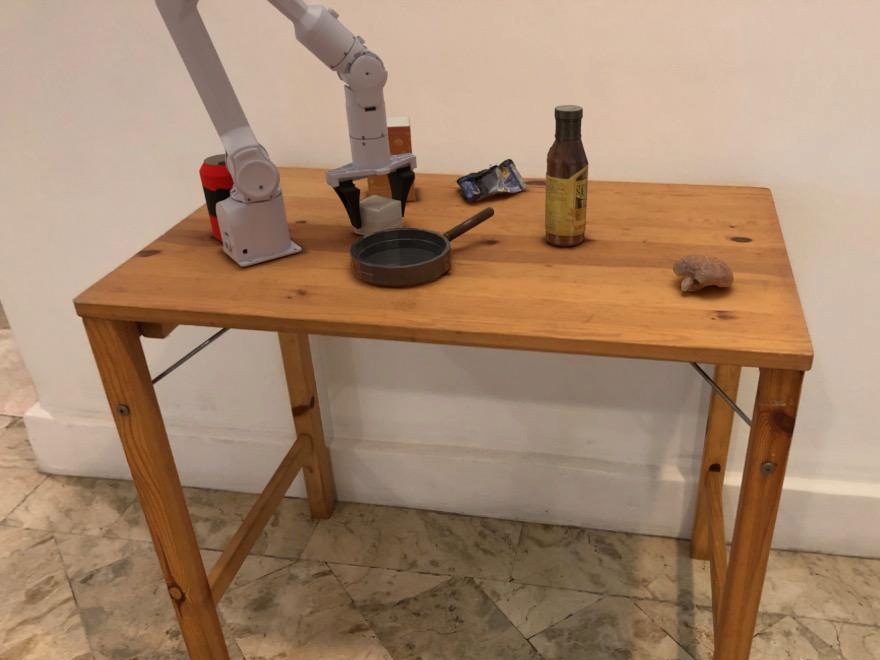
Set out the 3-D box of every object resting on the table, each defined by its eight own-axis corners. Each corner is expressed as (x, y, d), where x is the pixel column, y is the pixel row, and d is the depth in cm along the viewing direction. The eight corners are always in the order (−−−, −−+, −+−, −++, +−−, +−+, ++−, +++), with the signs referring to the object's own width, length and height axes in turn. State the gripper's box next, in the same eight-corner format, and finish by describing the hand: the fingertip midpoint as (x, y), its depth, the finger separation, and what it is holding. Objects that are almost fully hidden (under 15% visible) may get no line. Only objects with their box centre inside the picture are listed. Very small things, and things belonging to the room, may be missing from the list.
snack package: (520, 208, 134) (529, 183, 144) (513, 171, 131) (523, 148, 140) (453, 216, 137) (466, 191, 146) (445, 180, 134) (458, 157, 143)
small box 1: (369, 203, 136) (360, 127, 129) (369, 191, 142) (361, 117, 135) (416, 201, 137) (410, 125, 130) (415, 189, 143) (409, 115, 136)
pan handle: (446, 244, 116) (445, 221, 115) (440, 241, 118) (439, 218, 116) (496, 229, 121) (496, 207, 119) (491, 227, 122) (490, 204, 120)
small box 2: (404, 229, 126) (401, 200, 124) (380, 241, 122) (377, 211, 120) (377, 222, 129) (374, 193, 126) (353, 233, 125) (349, 204, 122)
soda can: (216, 246, 121) (198, 169, 115) (212, 229, 127) (195, 155, 121) (266, 239, 124) (252, 163, 117) (260, 222, 130) (246, 149, 123)
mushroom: (707, 307, 103) (750, 277, 105) (688, 265, 101) (731, 236, 104) (673, 309, 110) (714, 281, 112) (654, 270, 108) (696, 243, 111)
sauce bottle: (582, 249, 119) (588, 114, 108) (541, 246, 120) (543, 112, 109) (587, 233, 124) (593, 103, 114) (548, 230, 125) (550, 101, 115)
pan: (383, 298, 106) (381, 276, 104) (335, 263, 116) (332, 243, 114) (470, 270, 113) (469, 249, 111) (418, 240, 123) (416, 220, 121)
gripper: (336, 149, 111) (348, 240, 118) (424, 131, 118) (430, 217, 126) (314, 138, 116) (327, 226, 123) (400, 121, 123) (407, 205, 130)
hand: (378, 221), depth 125 cm, fingers open, 7 cm apart
